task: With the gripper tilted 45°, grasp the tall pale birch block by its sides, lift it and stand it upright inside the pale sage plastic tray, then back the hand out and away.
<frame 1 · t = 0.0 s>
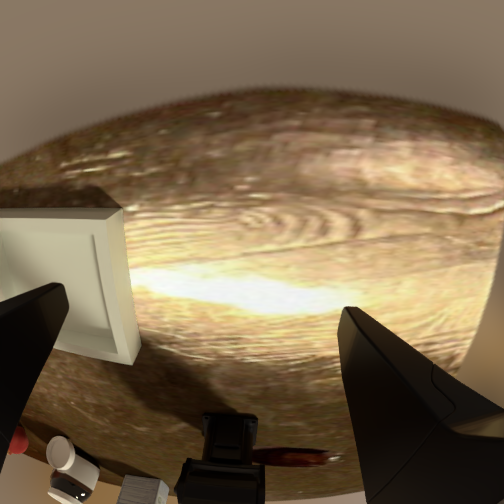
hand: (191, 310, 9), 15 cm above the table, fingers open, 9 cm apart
onion: (22, 426, 42), on the table
spread jar: (76, 450, 42), on the table
tray: (60, 276, 26), on the table
medicine box: (147, 480, 44), on the table
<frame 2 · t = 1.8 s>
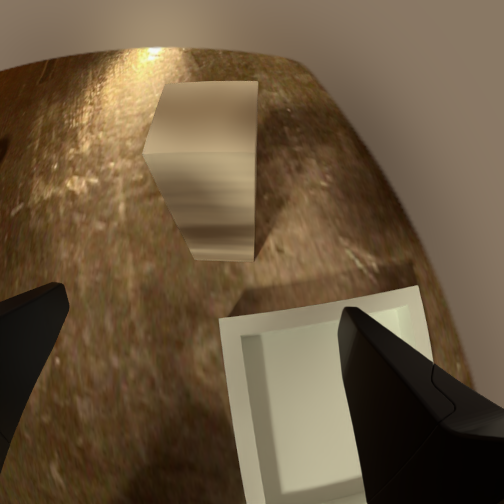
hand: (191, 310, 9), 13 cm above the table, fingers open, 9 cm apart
tray: (334, 415, 19), on the table
birch block: (226, 233, 24), on the table
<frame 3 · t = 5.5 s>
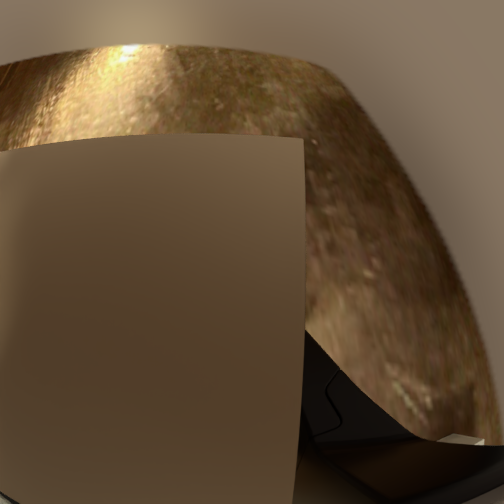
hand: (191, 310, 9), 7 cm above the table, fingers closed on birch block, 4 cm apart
birch block: (212, 361, 15), on the table, touching gripper
when the fingers open (9 cm above the table, at t = 10.6 s): birch block drops 1 cm, resting on tray.
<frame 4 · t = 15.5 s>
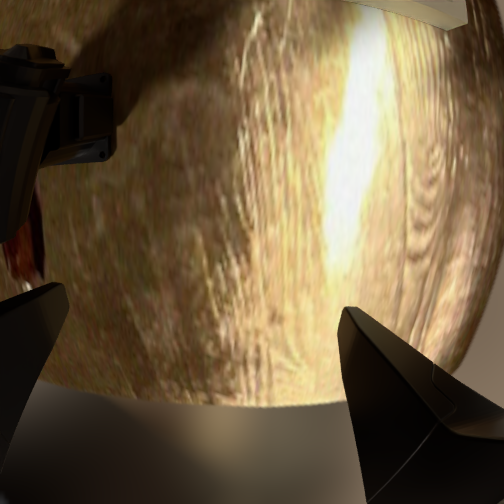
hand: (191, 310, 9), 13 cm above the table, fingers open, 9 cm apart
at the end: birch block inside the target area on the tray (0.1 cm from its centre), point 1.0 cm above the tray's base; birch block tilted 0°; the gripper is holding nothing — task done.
